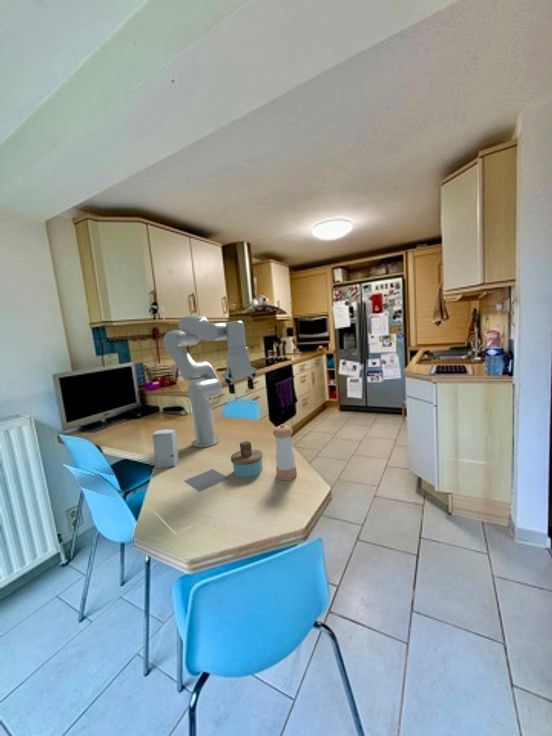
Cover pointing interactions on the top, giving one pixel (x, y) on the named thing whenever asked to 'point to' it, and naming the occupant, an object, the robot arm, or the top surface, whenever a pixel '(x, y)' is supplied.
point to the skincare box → (165, 448)
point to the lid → (246, 455)
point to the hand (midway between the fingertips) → (241, 391)
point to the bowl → (248, 469)
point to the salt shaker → (284, 453)
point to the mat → (206, 480)
